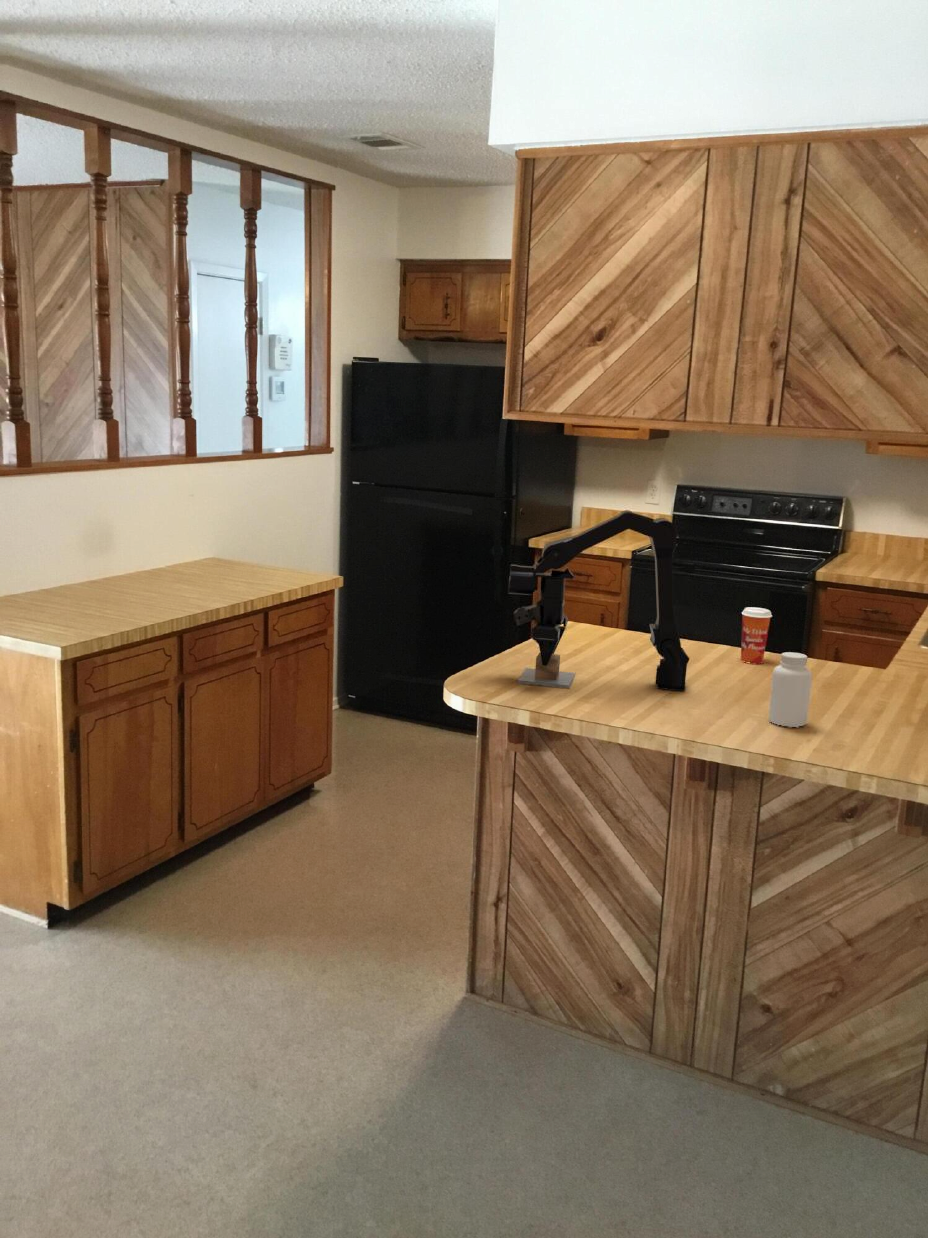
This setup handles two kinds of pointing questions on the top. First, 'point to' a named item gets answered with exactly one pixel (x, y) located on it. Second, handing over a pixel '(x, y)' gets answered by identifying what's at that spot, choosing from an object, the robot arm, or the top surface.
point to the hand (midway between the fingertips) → (547, 660)
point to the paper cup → (754, 634)
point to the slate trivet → (561, 681)
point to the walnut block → (547, 668)
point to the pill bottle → (790, 691)
